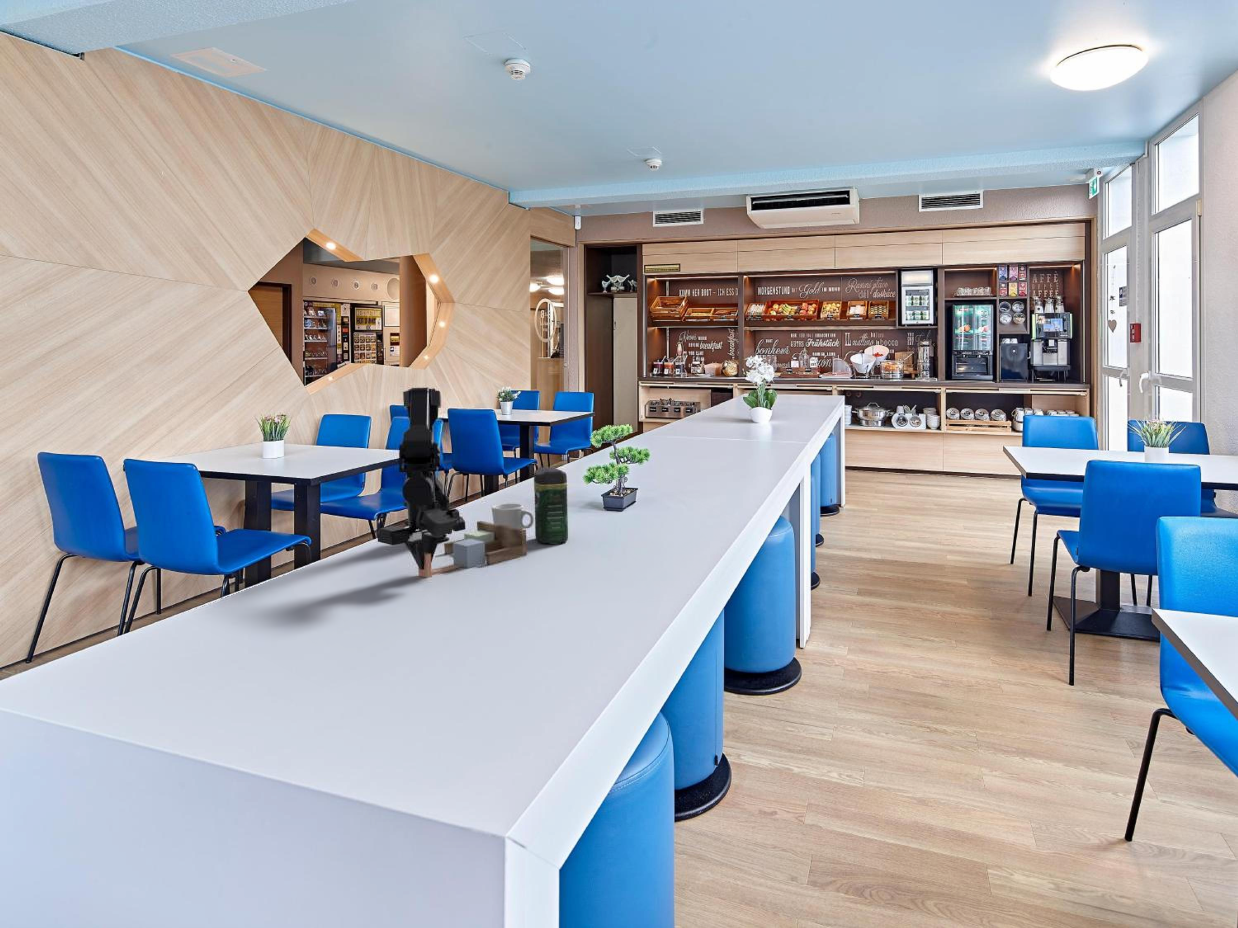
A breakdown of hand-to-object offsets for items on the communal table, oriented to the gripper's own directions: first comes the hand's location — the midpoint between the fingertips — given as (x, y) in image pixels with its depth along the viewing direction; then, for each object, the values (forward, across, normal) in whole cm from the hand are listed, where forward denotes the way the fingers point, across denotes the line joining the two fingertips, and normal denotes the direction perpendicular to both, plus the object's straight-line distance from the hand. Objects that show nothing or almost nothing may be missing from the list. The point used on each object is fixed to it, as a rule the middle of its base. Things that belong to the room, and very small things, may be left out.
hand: (424, 568), depth 171 cm
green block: (+2, +21, +8) cm, 23 cm away
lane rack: (+2, +19, +4) cm, 20 cm away
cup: (+2, +36, +12) cm, 38 cm away
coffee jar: (+2, +39, +1) cm, 39 cm away
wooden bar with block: (+2, +7, 0) cm, 7 cm away
